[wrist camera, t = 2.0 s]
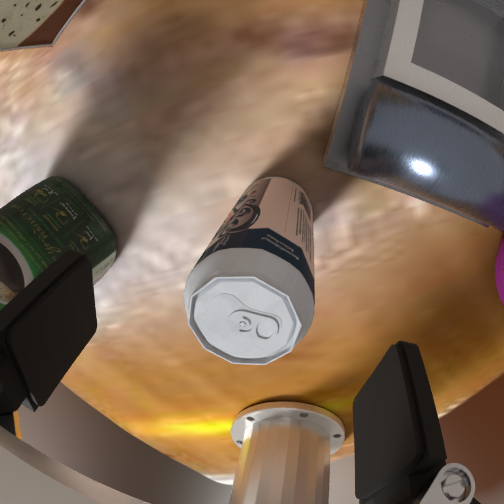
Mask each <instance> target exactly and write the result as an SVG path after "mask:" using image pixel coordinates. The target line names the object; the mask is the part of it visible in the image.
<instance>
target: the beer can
mask: <svg viewBox="0 0 504 504" xmlns="http://www.w3.org/2000/svg"><path fill="white" fill-rule="evenodd" d="M184 300H185V309H186V313H187V317H188V325H189V327H190V328H191V330H192V331H193V333H194V334H195V336H196V337H197V339H198V340H199V342H200V343H201V345H202V346H203V348H204V349H206V350H208V351H209V352H211V353H213V354H215V355H217V356H219V357H221V358H223V359H225V360H227V361H229V362H230V363H232V364H251V365H266V364H268V363H270V362H272V361H274V360H276V359H278V358H280V357H282V356H283V355H285V354H287V353H289V352H291V351H292V349H293V347H294V346H295V345H296V344H297V343H299V342H300V341H301V340H302V338H303V337H304V336H305V335H306V333H307V331H308V329H309V328H310V326H311V323H312V319H313V315H314V307H315V292H314V238H313V211H312V205H311V202H310V200H309V197H308V195H307V194H306V192H305V191H304V190H303V189H302V188H301V187H300V186H299V185H298V184H297V183H295V182H293V181H291V180H289V179H286V178H283V177H266V178H262V179H259V180H257V181H255V182H254V183H253V184H251V185H250V186H249V187H248V188H247V189H246V190H245V192H244V193H243V194H242V196H241V197H240V199H239V200H238V202H237V203H236V205H235V206H234V208H233V209H232V211H231V212H230V214H229V215H228V217H227V218H226V220H225V221H224V222H223V224H222V225H221V227H220V228H219V230H218V232H217V233H216V235H215V236H214V238H213V239H212V241H211V242H210V244H209V245H208V247H207V248H206V250H205V251H204V253H203V254H202V256H201V257H200V259H199V260H198V262H197V264H196V265H195V267H194V268H193V270H192V271H191V273H190V275H189V277H188V279H187V282H186V286H185V290H184Z"/></svg>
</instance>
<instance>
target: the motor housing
mask: <svg viewBox="0 0 504 504" xmlns="http://www.w3.org/2000/svg"><path fill="white" fill-rule="evenodd" d="M322 161H323V165H324V167H326V168H329V169H332V170H336V171H339V172H342V173H345V174H348V175H352V176H355V177H358V178H361V179H364V180H367V181H370V182H373V183H376V184H379V185H382V186H384V187H387V188H390V189H393V190H396V191H399V192H401V193H404V194H407V195H409V196H412V197H415V198H417V199H420V200H423V201H425V202H428V203H430V204H433V205H435V206H438V207H440V208H443V209H445V210H448V211H450V212H453V213H455V214H458V215H460V216H462V217H465V218H467V219H469V220H472V221H474V222H476V223H478V224H481V225H483V226H485V227H487V228H488V227H489V226H492V227H494V228H496V229H498V230H500V231H502V232H504V0H364V3H363V8H362V12H361V16H360V20H359V25H358V29H357V33H356V37H355V41H354V45H353V49H352V53H351V57H350V61H349V65H348V69H347V73H346V77H345V81H344V84H343V88H342V92H341V96H340V100H339V103H338V107H337V111H336V114H335V118H334V122H333V125H332V129H331V132H330V136H329V139H328V143H327V147H326V150H325V154H324V157H323V160H322Z"/></svg>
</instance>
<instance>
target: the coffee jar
mask: <svg viewBox="0 0 504 504" xmlns="http://www.w3.org/2000/svg"><path fill="white" fill-rule="evenodd" d="M69 249H73V250H76V251H79V252H82V253H85V254H86V255H87V256H88V259H89V260H90V261H91V263H92V274H93V286H94V285H95V284H96V283H97V282H98V281H99V280H100V279H101V278H102V277H103V276H104V275H105V274H106V273H107V271H108V270H109V269H110V267H111V266H112V264H113V262H114V260H115V257H116V252H117V245H116V239H115V236H114V234H113V232H112V230H111V228H110V227H109V225H108V224H107V222H106V221H105V220H104V219H103V217H102V216H101V215H100V213H99V212H98V211H97V210H96V208H95V207H94V206H93V205H92V204H91V203H90V202H89V201H88V200H87V199H86V198H85V196H84V195H83V194H82V193H81V192H80V191H78V190H77V189H76V188H75V187H74V186H73V185H72V184H71V183H69V182H68V181H67V180H65V179H62V178H59V177H50V178H47V179H45V180H43V181H41V182H39V183H38V184H36V185H34V186H33V187H31V188H29V189H28V190H26V191H25V192H23V193H22V194H20V195H19V196H17V197H16V198H15V199H13V200H12V201H10V202H9V203H8V204H6V205H5V206H3V207H2V208H1V209H0V310H1V309H2V308H3V307H4V306H5V305H6V304H8V303H9V302H10V301H11V300H12V299H13V298H14V297H15V296H16V295H17V294H18V293H19V292H20V291H21V290H23V289H24V288H25V287H26V286H27V285H28V284H29V283H30V282H31V281H33V280H34V279H35V278H36V277H37V276H38V275H39V274H40V273H42V272H43V271H44V270H45V269H46V268H47V267H49V266H50V265H51V264H52V263H53V262H54V261H56V260H57V259H58V258H59V257H60V256H62V255H63V254H64V253H65V252H66V251H68V250H69Z"/></svg>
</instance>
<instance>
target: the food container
mask: <svg viewBox="0 0 504 504" xmlns="http://www.w3.org/2000/svg"><path fill="white" fill-rule="evenodd" d="M86 1H87V0H0V52H3V51H11V50H19V49H29V48H40V47H53V45H54V44H55V42H56V41H57V39H58V38H59V36H60V35H61V34H62V32H63V31H64V29H65V28H66V27H67V25H68V24H69V23H70V21H71V20H72V19H73V17H74V16H75V15H76V13H77V12H78V11H79V9H80V8H81V7H82V6H83V4H84V3H85V2H86Z"/></svg>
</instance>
